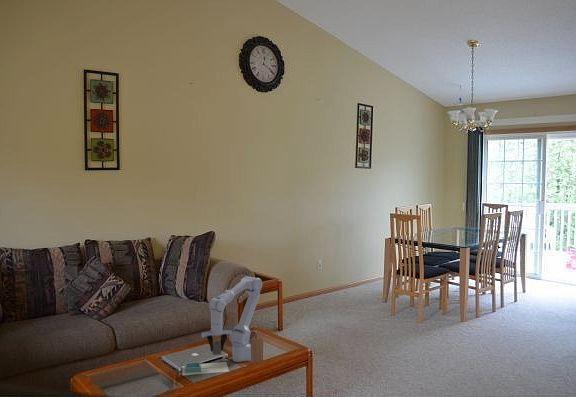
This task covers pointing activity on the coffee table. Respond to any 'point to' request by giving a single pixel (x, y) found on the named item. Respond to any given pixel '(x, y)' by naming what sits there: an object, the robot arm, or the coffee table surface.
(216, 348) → the cable plug
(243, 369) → the coffee table surface
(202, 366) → the board
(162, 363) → the coffee table surface
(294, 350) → the coffee table surface
